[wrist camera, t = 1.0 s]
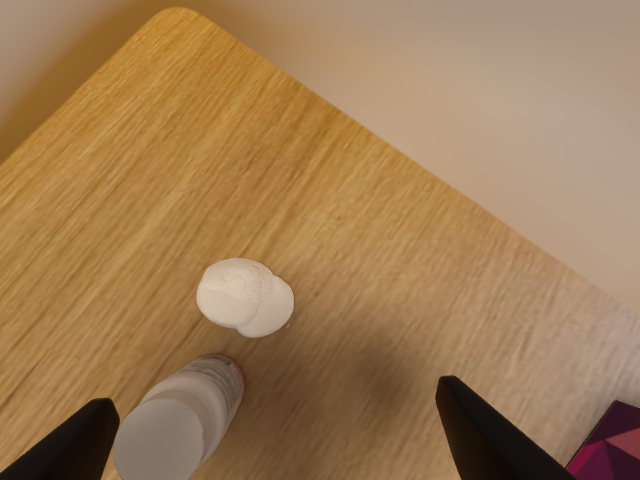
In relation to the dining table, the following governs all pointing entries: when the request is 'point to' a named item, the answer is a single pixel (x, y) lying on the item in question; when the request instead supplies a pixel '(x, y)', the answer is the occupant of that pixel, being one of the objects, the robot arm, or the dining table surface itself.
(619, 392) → the dining table surface
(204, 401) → the pill bottle
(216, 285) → the dumpling
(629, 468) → the decorative box
